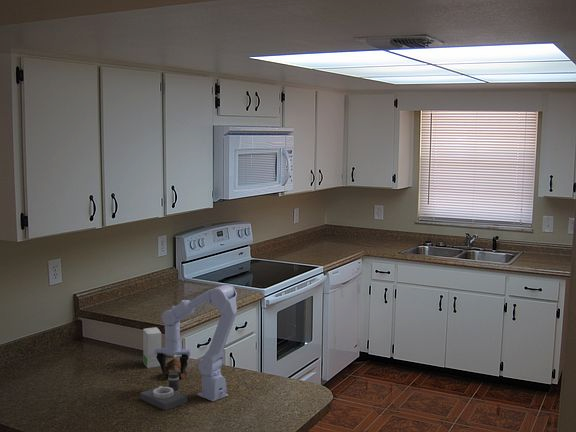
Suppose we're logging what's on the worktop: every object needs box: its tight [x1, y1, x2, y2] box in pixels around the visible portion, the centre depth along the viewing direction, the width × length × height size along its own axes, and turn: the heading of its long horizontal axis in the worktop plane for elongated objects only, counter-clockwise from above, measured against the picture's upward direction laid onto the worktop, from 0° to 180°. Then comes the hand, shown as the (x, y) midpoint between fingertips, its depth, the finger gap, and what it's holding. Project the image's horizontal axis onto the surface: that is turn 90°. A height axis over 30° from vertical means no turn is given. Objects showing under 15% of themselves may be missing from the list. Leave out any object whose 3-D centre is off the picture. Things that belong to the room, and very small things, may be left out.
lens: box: [167, 372, 180, 392], centre depth 266 cm, size 4×4×6 cm
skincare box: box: [142, 326, 162, 369], centre depth 294 cm, size 8×7×16 cm
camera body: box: [139, 385, 188, 411], centre depth 254 cm, size 16×10×4 cm, turn 46°
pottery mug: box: [162, 358, 188, 380], centre depth 282 cm, size 12×10×8 cm
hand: (173, 372), depth 266 cm, fingers open, 7 cm apart
